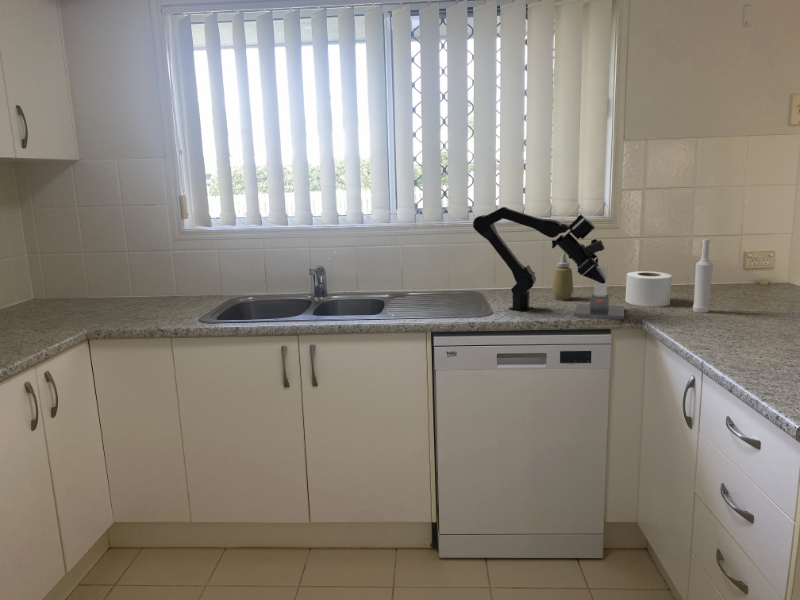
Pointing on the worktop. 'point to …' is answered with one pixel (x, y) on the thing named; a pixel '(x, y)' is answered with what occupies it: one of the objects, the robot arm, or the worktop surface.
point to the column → (599, 287)
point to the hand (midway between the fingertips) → (604, 280)
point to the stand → (599, 309)
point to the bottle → (703, 281)
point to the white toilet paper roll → (648, 288)
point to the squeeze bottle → (562, 280)
